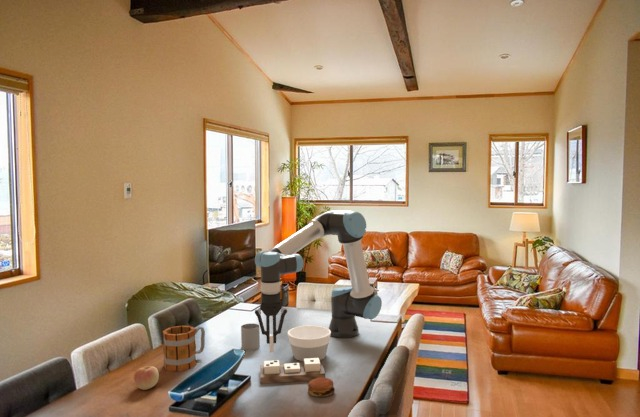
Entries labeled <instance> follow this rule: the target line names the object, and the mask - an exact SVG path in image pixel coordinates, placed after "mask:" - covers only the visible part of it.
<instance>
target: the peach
mask: <svg viewBox="0 0 640 417" xmlns="http://www.w3.org/2000/svg"><path fill="white" fill-rule="evenodd" d="M159 377H160V374H159V370H158V368H157V367H155V366H151V365H145V366H141V367H139V368H138V369H137V370H136V371H135V373H134V377H133V378H134V383H135V385H136V387H138V388H139V389H140V390H142V391H146V390H149V389H152V388H153V387H155V386H156V385H157V383H158V382H159Z"/></svg>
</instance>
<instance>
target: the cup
mask: <svg viewBox="0 0 640 417" xmlns="http://www.w3.org/2000/svg"><path fill="white" fill-rule="evenodd" d="M260 332H261V331H260V324H259V323H258V324H257V323H245V324H242V325H241V326H240V334H241V337H240V340H241V350H243V351H256V350H258V349H260V348H261V346H260V345H261V344H260V343H261V342H260V341H261V339H260Z"/></svg>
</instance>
